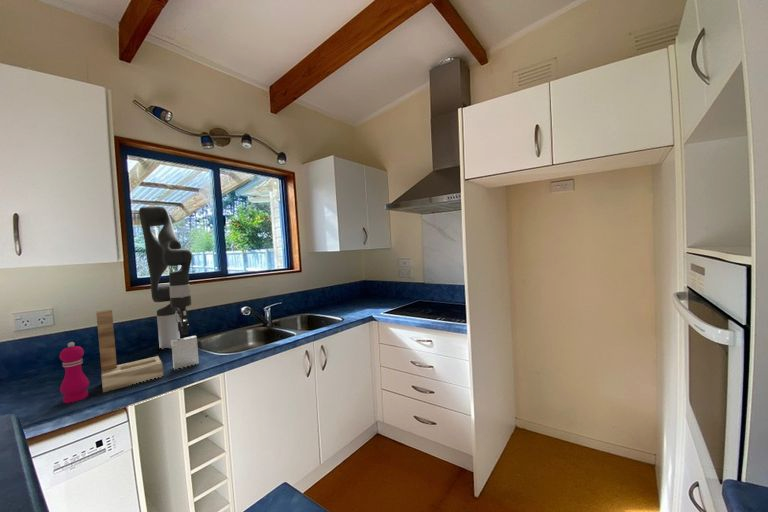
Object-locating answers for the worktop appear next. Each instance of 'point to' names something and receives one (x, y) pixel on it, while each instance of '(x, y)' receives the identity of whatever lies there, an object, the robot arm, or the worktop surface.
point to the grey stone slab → (184, 352)
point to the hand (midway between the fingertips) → (183, 332)
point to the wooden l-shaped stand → (123, 373)
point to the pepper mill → (73, 374)
